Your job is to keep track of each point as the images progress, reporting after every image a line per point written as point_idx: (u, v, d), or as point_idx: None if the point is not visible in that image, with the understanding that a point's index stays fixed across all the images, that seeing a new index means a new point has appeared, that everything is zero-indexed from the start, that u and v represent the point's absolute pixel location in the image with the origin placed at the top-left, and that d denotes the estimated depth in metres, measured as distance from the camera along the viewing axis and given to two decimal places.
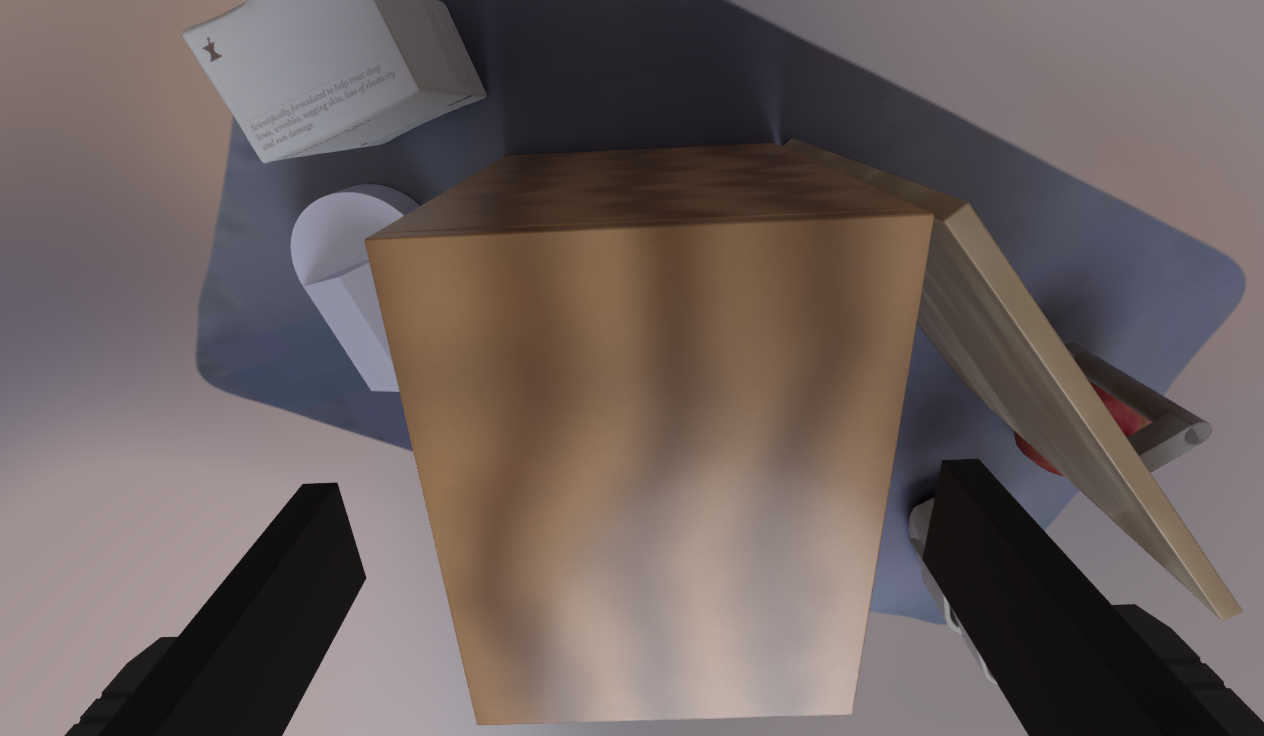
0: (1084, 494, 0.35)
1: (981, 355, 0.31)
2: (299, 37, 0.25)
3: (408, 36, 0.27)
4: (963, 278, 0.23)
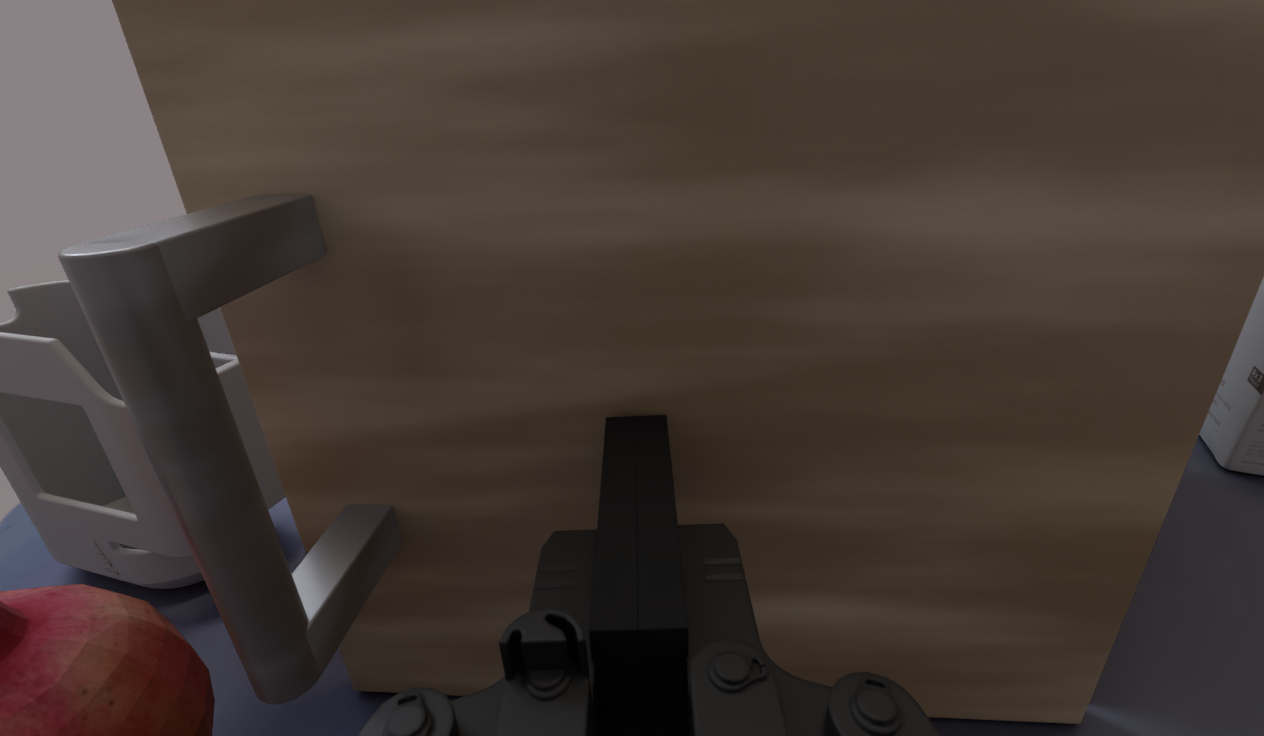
0: None
1: None
2: None
3: None
4: None
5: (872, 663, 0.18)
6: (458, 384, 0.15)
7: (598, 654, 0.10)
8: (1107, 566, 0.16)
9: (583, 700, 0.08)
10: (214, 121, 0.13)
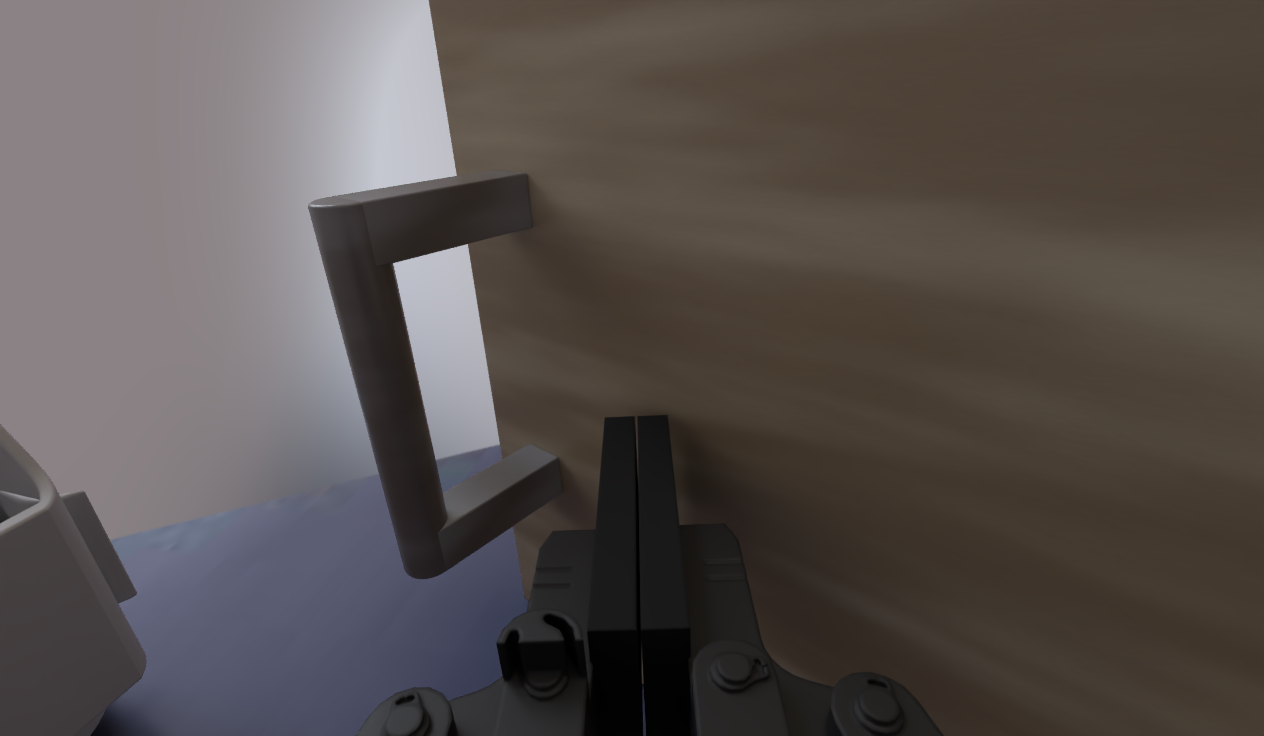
0: None
1: None
2: None
3: None
4: None
5: None
6: (612, 367, 0.16)
7: (596, 654, 0.10)
8: None
9: (581, 700, 0.08)
10: (475, 106, 0.16)
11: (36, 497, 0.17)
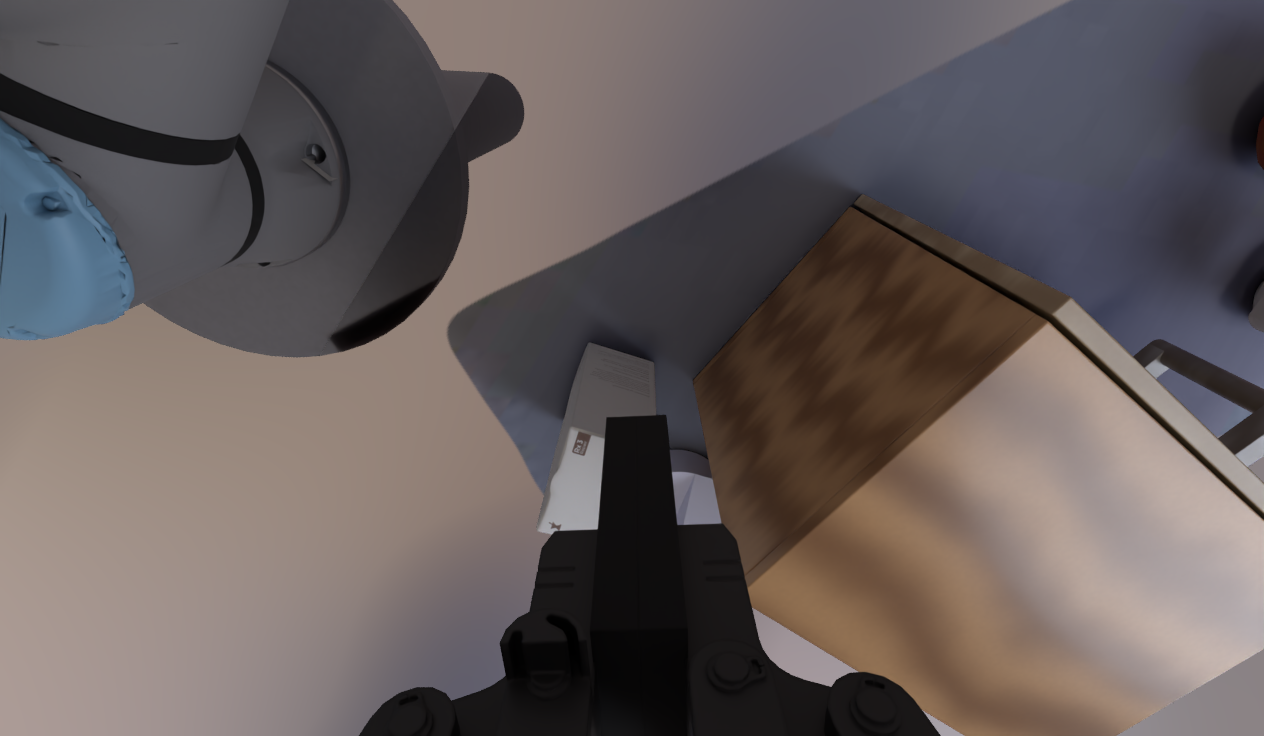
0: None
1: None
2: (585, 485, 0.38)
3: None
4: None
5: None
6: None
7: (599, 654, 0.10)
8: None
9: (584, 700, 0.08)
10: None
11: None
